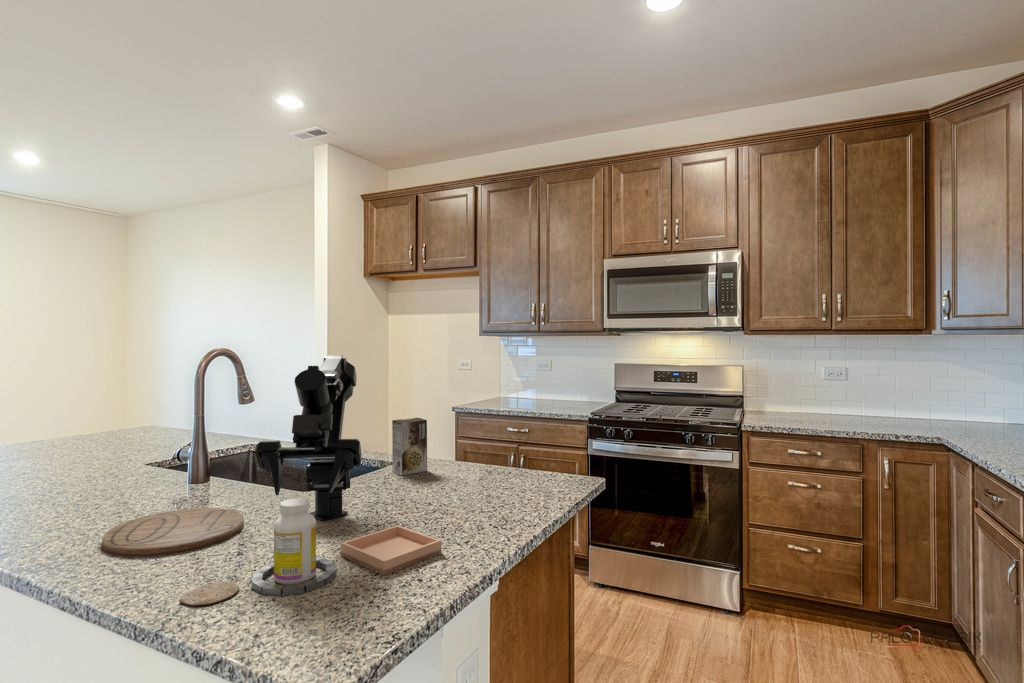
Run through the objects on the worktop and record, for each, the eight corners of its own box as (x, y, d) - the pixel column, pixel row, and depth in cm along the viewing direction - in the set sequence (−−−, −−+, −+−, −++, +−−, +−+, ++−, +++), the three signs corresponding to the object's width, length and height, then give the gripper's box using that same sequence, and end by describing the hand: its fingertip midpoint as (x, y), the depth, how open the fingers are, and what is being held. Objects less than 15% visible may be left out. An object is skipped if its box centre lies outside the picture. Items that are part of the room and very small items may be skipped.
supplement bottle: (303, 566, 97) (303, 494, 98) (323, 576, 93) (324, 501, 93) (266, 579, 92) (266, 502, 92) (286, 590, 88) (286, 510, 88)
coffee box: (417, 467, 175) (417, 417, 175) (427, 471, 170) (428, 419, 170) (391, 471, 169) (391, 419, 169) (401, 475, 164) (401, 421, 164)
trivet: (248, 511, 130) (248, 503, 130) (237, 548, 107) (237, 538, 107) (123, 523, 121) (123, 514, 121) (81, 566, 98) (81, 556, 98)
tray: (340, 555, 102) (340, 542, 102) (397, 536, 112) (397, 525, 112) (384, 575, 94) (384, 561, 94) (441, 553, 104) (441, 540, 104)
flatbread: (226, 581, 92) (226, 575, 92) (246, 595, 87) (246, 589, 87) (172, 598, 86) (172, 592, 86) (190, 614, 81) (190, 607, 81)
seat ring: (238, 579, 92) (238, 573, 92) (310, 556, 102) (310, 551, 102) (276, 603, 84) (276, 596, 84) (350, 576, 94) (350, 570, 94)
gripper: (257, 398, 103) (238, 470, 92) (360, 397, 106) (353, 466, 95) (268, 433, 111) (252, 504, 100) (364, 431, 114) (358, 499, 103)
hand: (303, 493), depth 99 cm, fingers open, 9 cm apart
